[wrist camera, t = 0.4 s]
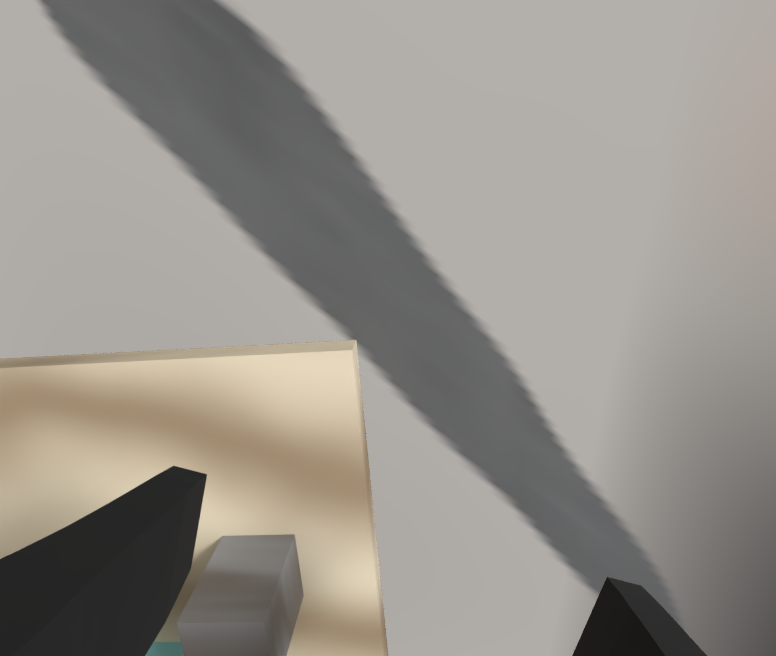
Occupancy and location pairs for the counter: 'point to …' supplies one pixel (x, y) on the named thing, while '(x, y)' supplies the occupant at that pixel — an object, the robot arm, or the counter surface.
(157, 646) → the teal foam cube
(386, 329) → the counter surface
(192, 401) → the board
